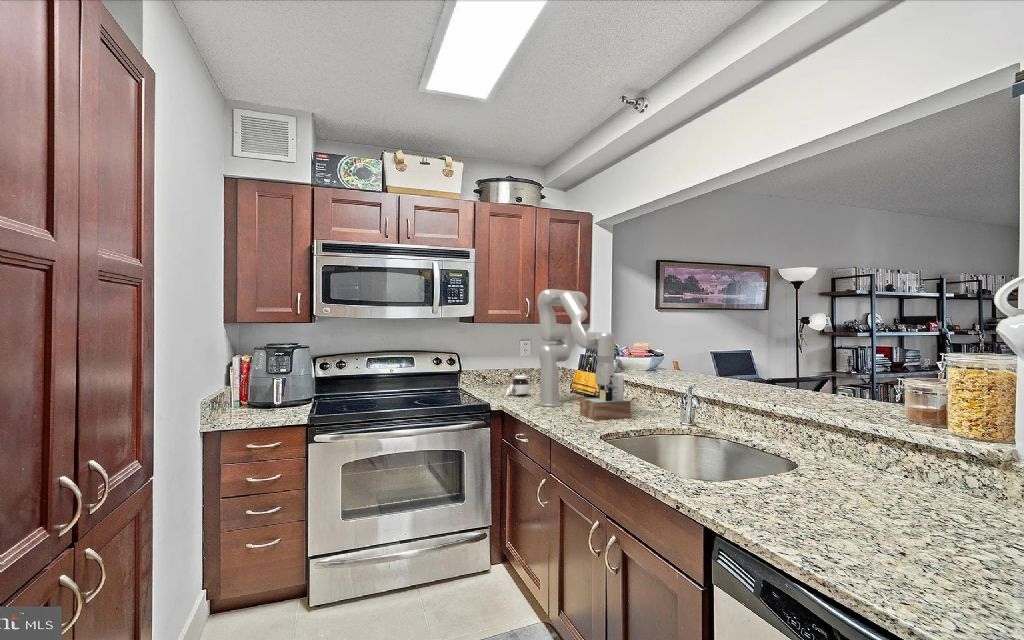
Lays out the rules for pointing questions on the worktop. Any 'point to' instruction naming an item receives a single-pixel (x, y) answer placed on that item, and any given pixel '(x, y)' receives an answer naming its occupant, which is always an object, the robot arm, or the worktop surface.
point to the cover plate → (603, 397)
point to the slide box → (605, 409)
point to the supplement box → (618, 386)
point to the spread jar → (519, 386)
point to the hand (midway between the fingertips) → (605, 399)
